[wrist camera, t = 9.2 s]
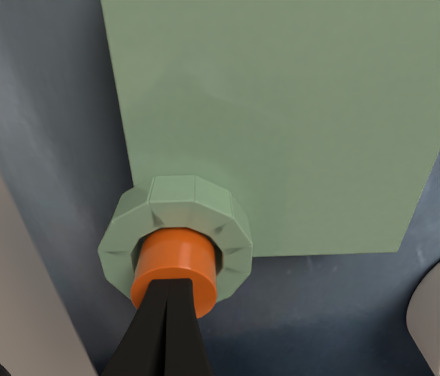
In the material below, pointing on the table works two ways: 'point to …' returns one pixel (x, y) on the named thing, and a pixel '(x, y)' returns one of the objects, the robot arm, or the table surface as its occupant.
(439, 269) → the round zippered pouch
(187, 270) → the push button
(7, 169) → the table surface
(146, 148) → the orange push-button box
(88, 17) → the table surface
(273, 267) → the table surface
